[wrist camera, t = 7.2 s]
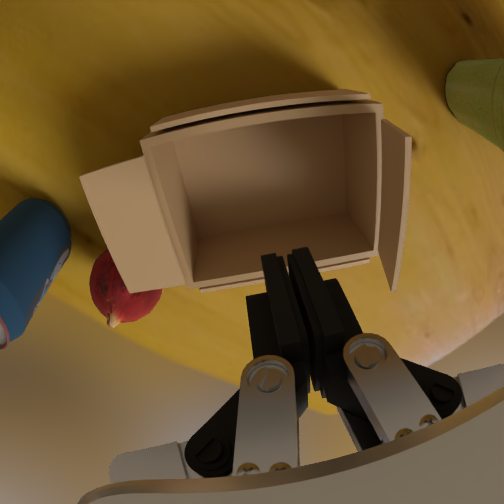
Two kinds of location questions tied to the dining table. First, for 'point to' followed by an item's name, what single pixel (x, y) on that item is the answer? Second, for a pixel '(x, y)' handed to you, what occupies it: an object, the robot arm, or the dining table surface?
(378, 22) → the dining table surface
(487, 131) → the plant pot
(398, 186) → the flap
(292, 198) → the carton
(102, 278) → the onion
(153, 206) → the flap
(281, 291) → the robot arm
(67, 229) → the soda can
